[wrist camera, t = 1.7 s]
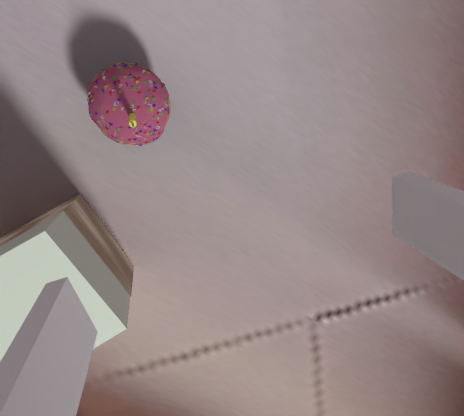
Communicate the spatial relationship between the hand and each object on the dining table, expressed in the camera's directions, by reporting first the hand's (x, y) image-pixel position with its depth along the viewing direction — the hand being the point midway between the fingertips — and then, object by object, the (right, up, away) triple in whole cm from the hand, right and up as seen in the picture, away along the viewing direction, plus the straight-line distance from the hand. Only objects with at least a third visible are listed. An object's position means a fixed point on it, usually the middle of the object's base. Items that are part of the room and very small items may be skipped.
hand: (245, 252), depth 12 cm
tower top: (-20, -6, +21) cm, 30 cm away
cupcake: (-13, +14, +25) cm, 32 cm away
